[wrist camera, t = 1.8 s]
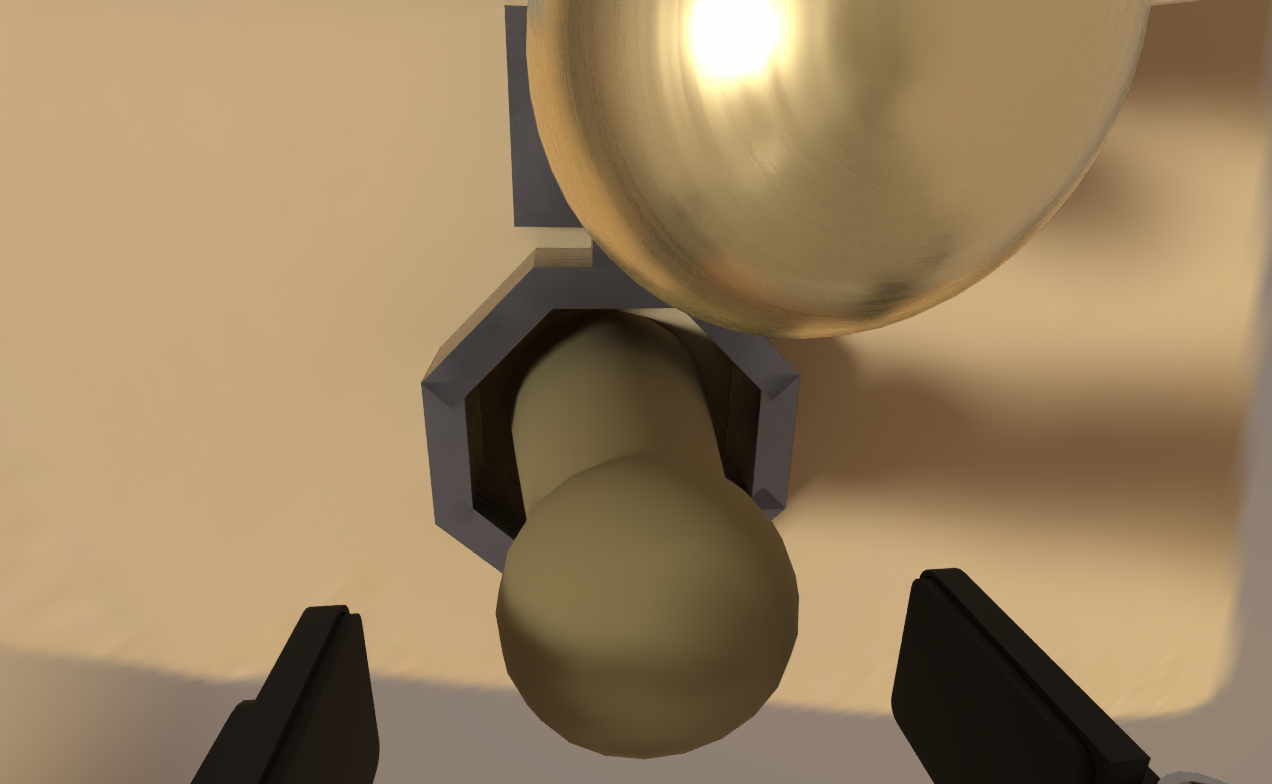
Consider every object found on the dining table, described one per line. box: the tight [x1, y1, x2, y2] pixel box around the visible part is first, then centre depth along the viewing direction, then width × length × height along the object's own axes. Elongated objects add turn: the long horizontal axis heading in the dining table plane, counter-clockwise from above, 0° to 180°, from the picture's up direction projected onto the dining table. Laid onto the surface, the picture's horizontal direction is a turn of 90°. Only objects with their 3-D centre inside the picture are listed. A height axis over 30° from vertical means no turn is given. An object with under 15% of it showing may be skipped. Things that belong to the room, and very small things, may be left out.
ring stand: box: [421, 0, 1152, 573], centre depth 12 cm, size 15×10×16 cm, turn 179°
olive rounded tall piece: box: [496, 311, 799, 759], centre depth 15 cm, size 6×6×11 cm
